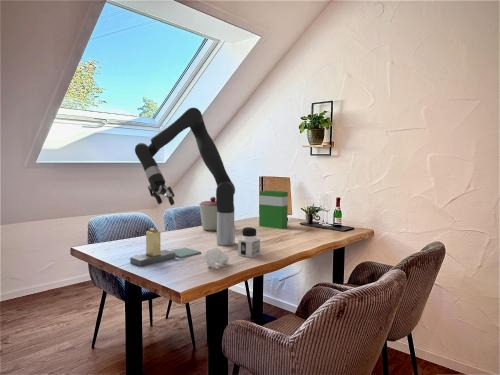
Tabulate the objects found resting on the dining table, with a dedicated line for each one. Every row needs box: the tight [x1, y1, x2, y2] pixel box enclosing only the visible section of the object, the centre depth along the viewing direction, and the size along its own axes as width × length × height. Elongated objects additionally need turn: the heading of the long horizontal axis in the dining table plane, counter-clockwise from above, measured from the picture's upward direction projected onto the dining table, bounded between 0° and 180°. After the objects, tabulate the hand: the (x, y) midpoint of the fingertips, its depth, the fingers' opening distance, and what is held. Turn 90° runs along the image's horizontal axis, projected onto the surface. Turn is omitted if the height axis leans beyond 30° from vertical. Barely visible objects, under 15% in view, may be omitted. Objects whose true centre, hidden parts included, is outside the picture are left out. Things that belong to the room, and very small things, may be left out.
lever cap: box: [145, 227, 162, 257], centre depth 160 cm, size 4×5×14 cm
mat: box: [170, 247, 202, 259], centre depth 173 cm, size 12×12×1 cm
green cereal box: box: [258, 189, 289, 230], centre depth 243 cm, size 18×7×24 cm, turn 56°
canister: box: [198, 196, 217, 232], centre depth 232 cm, size 18×18×21 cm
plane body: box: [129, 249, 176, 267], centre depth 160 cm, size 18×8×2 cm, turn 139°
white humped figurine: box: [204, 246, 230, 270], centre depth 153 cm, size 6×8×12 cm
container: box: [237, 226, 261, 258], centre depth 171 cm, size 8×8×13 cm
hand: (166, 203), depth 176 cm, fingers open, 8 cm apart
